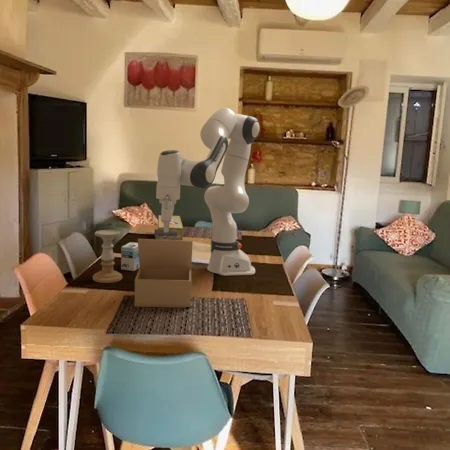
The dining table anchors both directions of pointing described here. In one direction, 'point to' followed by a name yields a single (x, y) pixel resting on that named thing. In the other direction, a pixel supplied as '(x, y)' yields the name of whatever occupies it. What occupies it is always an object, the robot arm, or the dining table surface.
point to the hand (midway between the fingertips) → (166, 230)
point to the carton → (163, 287)
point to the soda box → (172, 228)
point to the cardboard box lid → (165, 252)
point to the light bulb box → (130, 257)
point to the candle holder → (107, 258)
